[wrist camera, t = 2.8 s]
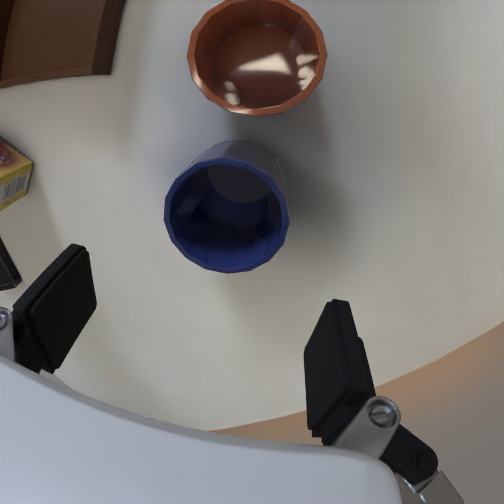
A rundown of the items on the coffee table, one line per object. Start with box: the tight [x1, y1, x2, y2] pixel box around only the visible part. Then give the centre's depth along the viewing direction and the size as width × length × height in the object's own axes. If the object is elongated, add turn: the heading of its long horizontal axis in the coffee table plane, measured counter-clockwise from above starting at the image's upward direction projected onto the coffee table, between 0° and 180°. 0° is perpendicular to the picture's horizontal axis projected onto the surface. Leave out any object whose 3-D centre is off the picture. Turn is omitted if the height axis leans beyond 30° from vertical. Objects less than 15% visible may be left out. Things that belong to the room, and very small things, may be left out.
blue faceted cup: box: [164, 140, 290, 274], centre depth 18 cm, size 7×7×6 cm
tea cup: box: [187, 0, 327, 117], centre depth 13 cm, size 6×6×6 cm
